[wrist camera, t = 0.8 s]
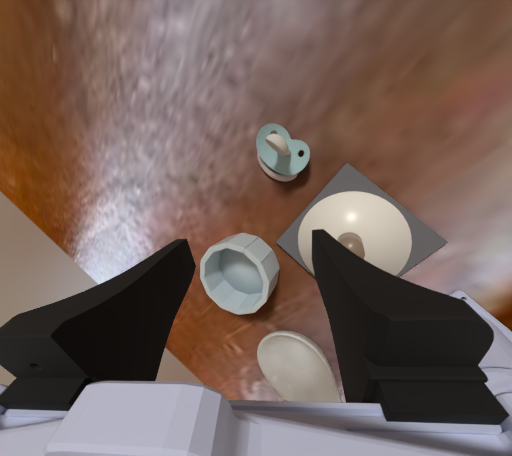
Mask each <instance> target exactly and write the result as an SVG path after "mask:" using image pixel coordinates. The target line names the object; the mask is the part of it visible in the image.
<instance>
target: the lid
mask: <svg viewBox="0 0 512 456" xmlns="http://www.w3.org/2000/svg"><path fill="white" fill-rule="evenodd" d="M317 229H324V230H325V231H326V232H328V233H329V234H330V235H331V236H332V237H333V238H335V239H336V240H337V241H338V242H340V243H341V244H342V245H343V246H345V247H346V248H347V249H349V250H350V251H352V252H353V253H355V254H356V255H358V256H359V257H361V258H362V259H364V260H365V261H367V262H369V263H371V264H373V265H374V266H376V267H378V268H380V269H382V270H384V271H386V272H388V273H390V274H392V275H395V276H396V275H397V274H398V273H399V272H400V271H401V270H402V269H403V267H404V266H405V264H406V263H407V260H408V258H409V256H410V252H411V246H412V237H411V232H410V228H409V226H408V223H407V221H406V220H405V218H404V216H403V215H402V214H401V213H400V211H399V210H398V209H397V208H396V207H395V206H393V205H392V204H391V203H389V202H388V201H387V200H385V199H383V198H381V197H379V196H376V195H374V194H371V193H366V192H359V191H347V192H341V193H337V194H333V195H331V196H328V197H326V198H324V199H323V200H321V201H319V202H318V203H317V204H315V205H314V206H313V207H312V208H311V209H310V210H309V212H308V213H307V214H306V215H305V217H304V219H303V220H302V223H301V225H300V228H299V233H298V247H299V251H300V255H301V257H302V259H303V261H304V263H305V265H306V266H307V267H308V269H309V270H310V271H311V272H312V273H313V274H314V269H313V264H312V230H317ZM314 275H315V274H314Z"/></svg>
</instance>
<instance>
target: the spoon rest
mask: <svg viewBox="0 0 512 456" xmlns="http://www.w3.org/2000/svg"><path fill="white" fill-rule="evenodd" d="M257 358H258V362H259V365H260V368H261V370H262V372H263V374H264V376H265V377H266V379H267V380H268V382H269V383H270V384H271V385H272V386H273V388H274V389H275V390H276V391H277V392H278V393H279V394H280V395H281V396H282V397H283V398H284V399H285V400H286V401H298V402H342V401H341V397H340V393H339V390H338V386H337V383H336V380H335V377H334V374H333V372H332V369H331V366H330V364H329V362H328V360H327V358H326V356H325V355H324V353H323V352H322V350H321V349H320V348H319V347H318V345H317V344H316V343H314V342H313V341H312V340H311V339H309V338H308V337H306V336H304V335H302V334H300V333H297V332H293V331H285V330H283V331H276V332H273V333H271V334H268V335H267V336H265V337H264V338H263V339H262V340H261V342H260V344H259V346H258V350H257Z"/></svg>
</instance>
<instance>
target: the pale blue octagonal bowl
mask: <svg viewBox="0 0 512 456" xmlns="http://www.w3.org/2000/svg"><path fill="white" fill-rule="evenodd" d="M272 250H273V249H272V248H271V247H269V246H268V245H267V244H266V243H265V242H264V241H263V240H262V239H261V238H260V237H259V238H258V237H257V236H253V235H249V234H246V233H239V234H236V235H233V236H230V237H227V238H225V239H224V240H222V241H220V242H218V243H217V244H215V245H213V246H211V247H210V248H209V249H208V251H207V252H206V253H205V255H204V256H203V258H202V259H201V264H200V277H201V278H200V279H201V281H202V283H203V286H204V288H205V290H206V293H207V294H208V296H209V297H210V298H211V299H212V300H213V301H214V302H215V303H216V304H217V305H218V306H219V307H221V308H222V309H225V310H227V311H230V312H232V313H235V314H238V315H240V314H249V313H254V312H256V311H257V310H258V309H259V308H260V307H261V306H262V305H263V304H264V303H265V302H266V301H267V300H268V298H269V296H270V295H271V293H272V291H273V289H274V288H275V286H276V284H277V281H278V275H279V269H280V268H279V267H280V266H279V264H278V261H277V259H276V256H275V253H274V251H272Z"/></svg>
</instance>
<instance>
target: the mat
mask: <svg viewBox="0 0 512 456" xmlns="http://www.w3.org/2000/svg"><path fill="white" fill-rule="evenodd" d="M347 191H359V192H366V193H371V194H374V195H376V196H379V197H381V198H383V199H385V200H387V201H388V202H389V203H391V204H392V205H393V206H395V207H396V208H397V209H398V210H399V211H400V213H401V214H402V215H403V216H404V218H405V220H406V221H407V223H408V226H409V228H410V232H411V237H412V246H411V252H410V256H409V258H408V260H407V263H406V264H405V266H404V267H403V269H402V270H401V271H400V272H399V273H398V274H397V275H396V276H397V277H399V276H400V275H402V274H403V273H405V272H406V271H408V270H409V269H410V268H412V267H413V266H415V265H416V264H418V263H419V262H420V261H422V260H423V259H425V258H426V257H428V256H429V255H430V254H432V253H433V252H435V251H436V250H438V249H439V248H440V247H442V246H443V245H445V244H446V243H448V242H447V241H446V240H444V239H443V238H442V237H441V236H439V235H438V234H437V233H436V232H434V231H433V230H432V229H431V228H429V227H428V226H427V225H425V224H424V223H423V222H422V221H420V220H419V219H418V218H417V217H415V216H414V215H413V214H412V213H410V212H409V211H408V210H406V209H405V208H404V207H403V206H401V205H400V204H399V203H398V202H396V201H395V200H394V199H393V198H391V197H390V196H389V195H387V194H386V193H385V192H384V191H382V190H381V189H380V188H379V187H377V186H376V185H375V184H374V183H372V182H371V181H370V180H369V179H367V178H366V177H365V176H363V175H362V174H361V173H360V172H358V171H357V170H356V169H355V168H353V167H352V166H351V165H350V164H348V163H346V164H345V165H344V166H343V168H342V169H341V170H340V171H339V172H338V173H337V174H336V175H335V177H334V178H333V179H332V180H331V181H330V182H329V183H328V184H327V185H326V187H325V188H324V189H323V190H322V191H321V192H320V193H319V194H318V196H317V197H316V198H315V199H314V200H313V201H312V202H311V203H310V205H309V206H308V207H307V208H306V209H305V210H304V211H303V212H302V213H301V215H300V216H299V217H298V218H297V219H296V220H295V221H294V222H293V224H292V225H291V226H290V227H289V228H288V229H287V230H286V231H285V232H284V234H283V235H282V236H281V237H280V238H279V239H278V240H277V241H276V243H277V244H278V245H279V246H281V247H282V248H283V249H284V250H285V251H286V252H287V253H288V254H289V255H291V256H292V257H293V258H294V259H295V260H296V261H297V262H298V263H299V264H301V265H302V266H303V267H304V268H305V269H306V270H307V271H308V272H309V273H311V274H312V275H313V276H314V277H315V275H314V274H313V273H312V272H311V271H310V270H309V269H308V267H307V266H306V265H305V263H304V261H303V259H302V257H301V255H300V251H299V247H298V233H299V228H300V225H301V223H302V220H303V219H304V217H305V215H306V214H307V213H308V212H309V210H310V209H311V208H312V207H313V206H314V205H315V204H317V203H318V202H319V201H321V200H323V199H324V198H326V197H328V196H331V195H333V194H337V193H341V192H347Z"/></svg>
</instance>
